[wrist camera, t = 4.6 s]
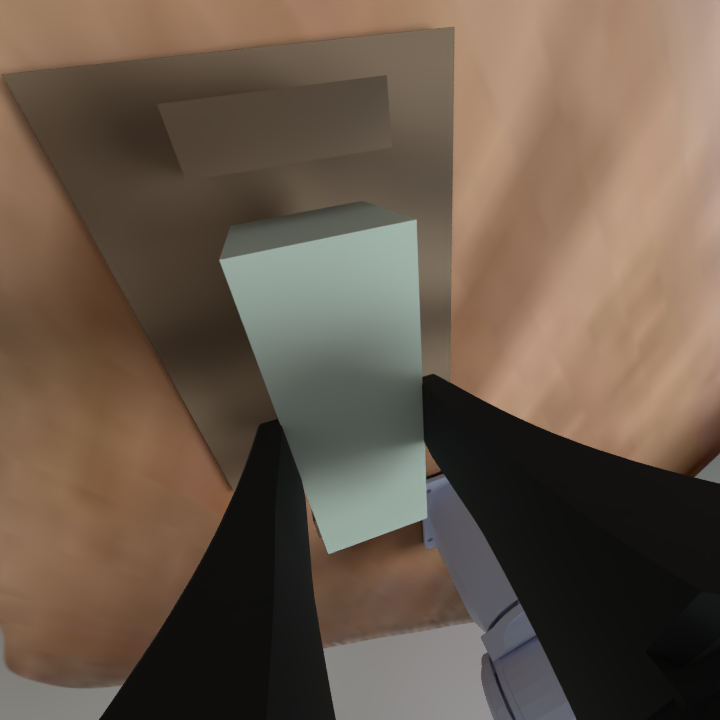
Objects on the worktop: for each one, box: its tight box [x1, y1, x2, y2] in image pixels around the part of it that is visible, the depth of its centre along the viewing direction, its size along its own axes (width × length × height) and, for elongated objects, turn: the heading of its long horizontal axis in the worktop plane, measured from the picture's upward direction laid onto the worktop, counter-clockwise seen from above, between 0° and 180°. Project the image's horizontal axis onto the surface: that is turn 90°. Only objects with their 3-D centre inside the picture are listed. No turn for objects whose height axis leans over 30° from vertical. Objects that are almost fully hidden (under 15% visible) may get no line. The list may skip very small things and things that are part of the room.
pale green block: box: [219, 201, 427, 554], centre depth 11 cm, size 11×4×4 cm, turn 8°
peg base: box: [2, 27, 454, 538], centre depth 14 cm, size 20×14×6 cm
